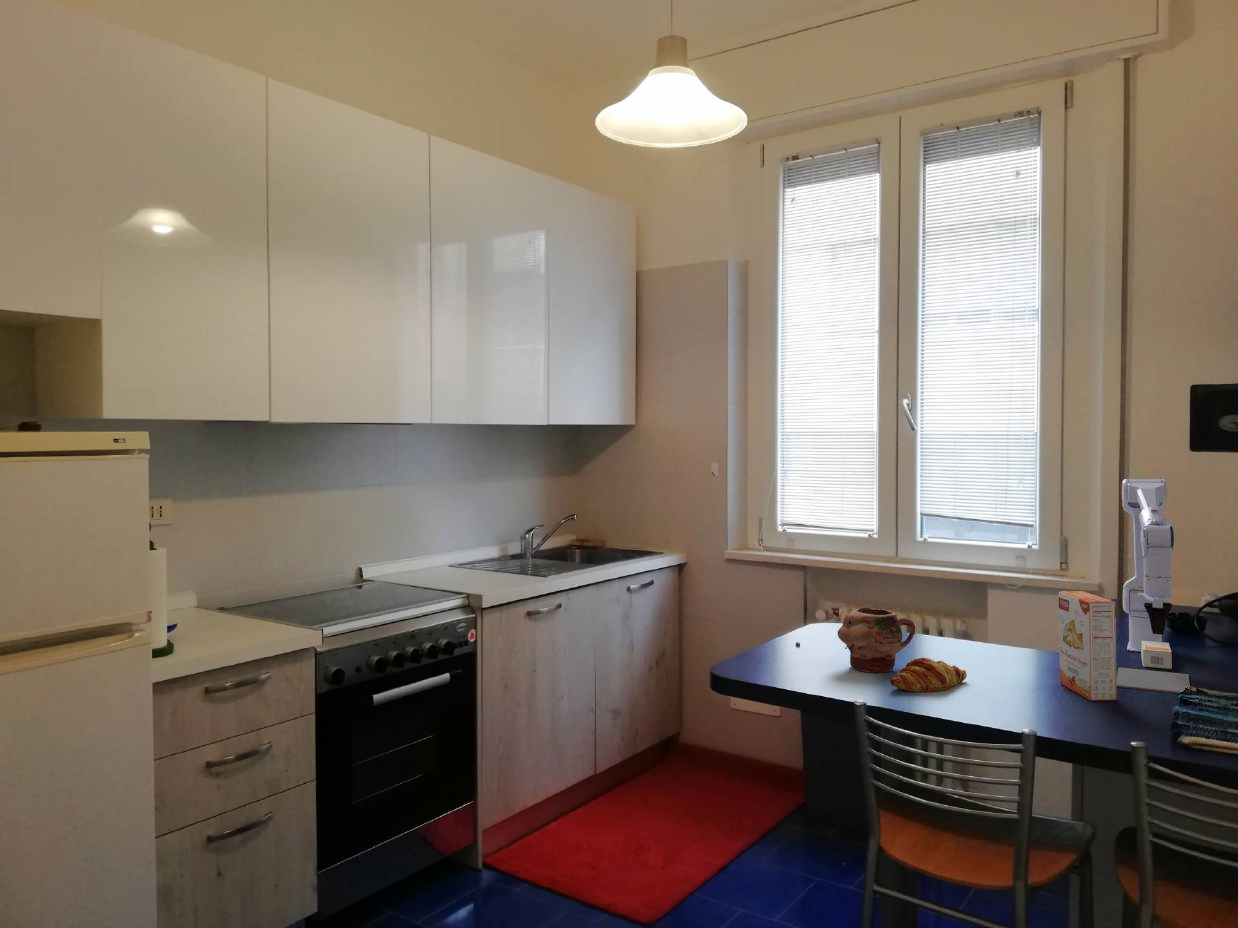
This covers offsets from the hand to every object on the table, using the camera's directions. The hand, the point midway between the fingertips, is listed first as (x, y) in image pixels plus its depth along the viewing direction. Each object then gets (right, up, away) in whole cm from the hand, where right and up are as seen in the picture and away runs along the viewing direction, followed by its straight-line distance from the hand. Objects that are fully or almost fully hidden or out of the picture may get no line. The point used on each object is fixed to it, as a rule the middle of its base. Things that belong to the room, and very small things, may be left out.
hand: (1158, 633), depth 213 cm
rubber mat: (-7, -9, -10) cm, 15 cm away
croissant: (-58, -10, -12) cm, 60 cm away
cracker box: (-26, -9, -18) cm, 33 cm away
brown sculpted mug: (-64, -10, +6) cm, 65 cm away
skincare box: (+1, -6, +1) cm, 6 cm away
